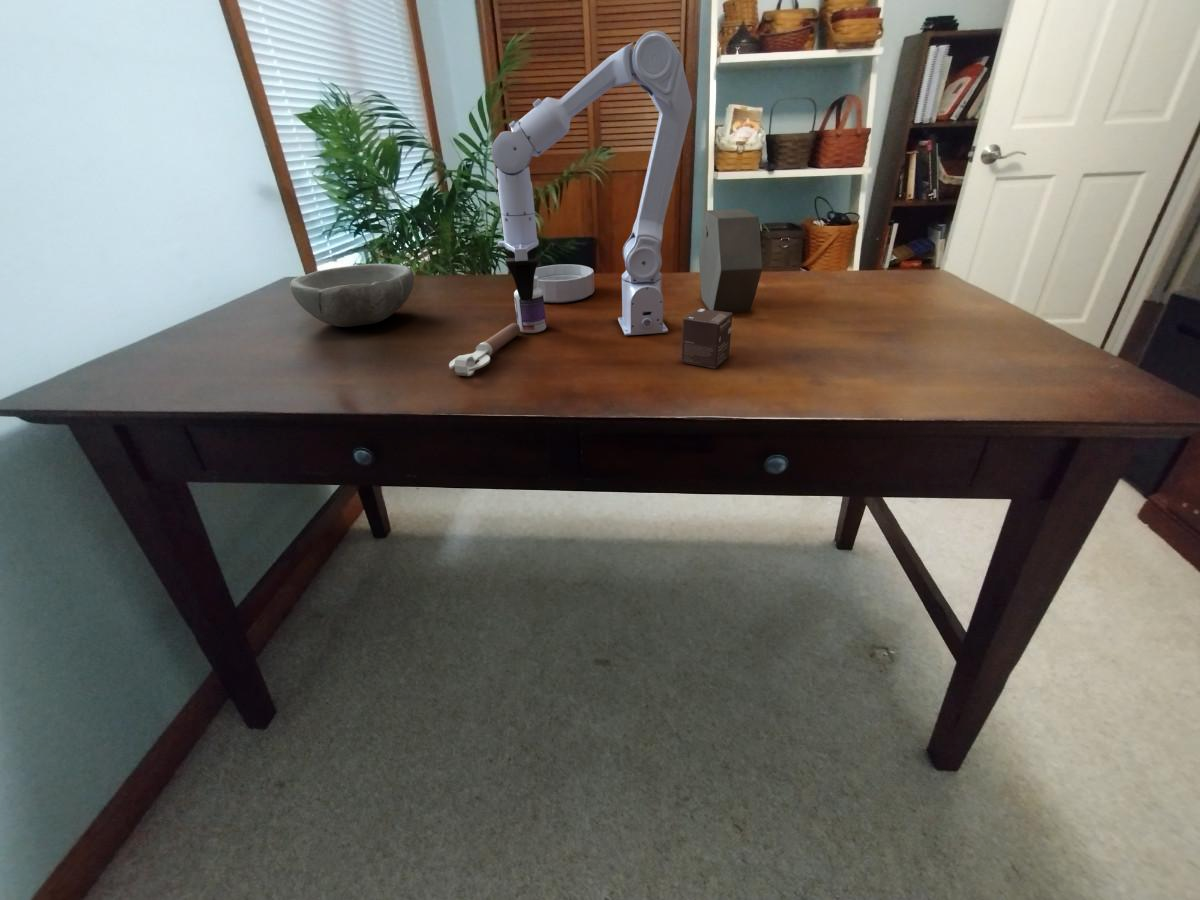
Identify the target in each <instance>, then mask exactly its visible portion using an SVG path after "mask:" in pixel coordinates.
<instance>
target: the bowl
mask: <svg viewBox="0 0 1200 900" xmlns="http://www.w3.org/2000/svg"><path fill="white" fill-rule="evenodd" d="M414 279H415V278H414V272H413V270H412V268H410V267H409V266H406V265H404V264H403V265H402V264H395V263H368V264H367V263H366V264H365V263H363V264H354V265H348V266H339V267H331V268H326V269H322V270H316V271H313V272H310V273H308V274H304V275H300V276H297V277H295V278H293V279H292V280H291V281H290V285H289V287H290V291H291V294H292V296H293V298H294V299H295V301H296V303H297V304H298V305H300V307H301V308H302V309H303V310H305V312H307V313H308V314H310V315H311V316H312V317H314V318H315V319H317V320H318V321H320V322H322V323H324V324H328V325H330V326H334V327H340V328H349V327H361V326H366V325H373V324H376V323H379V322H382V321H384V320H386V319H388V318H389V317H391V316H392V315H394V314H395V313H396V312H397V311H398V310H399V309H400V308H401V307H403V305H404V304H405V303H406V302H407V301H408V299H409V297H410V296H411V294H412V292H413V291H412V290H413V287H414Z"/></svg>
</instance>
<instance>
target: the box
mask: <svg viewBox="0 0 1200 900" xmlns="http://www.w3.org/2000/svg"><path fill="white" fill-rule="evenodd" d="M733 313H734V312H732V313H730V312H722V311H714V310H709V309H706V308H697V309H696V310H694V311H692V312H690V313H688V315H686V316H685V317H683V318H682V333H681V357H680V363H683V364H687V365H694V366H700V367H705V368H708V369H717V368H718V367H719V366H721V365H722V364H723V363H724V362H726V360H727V359H728V358H729V357H730V349H731V337H732V323H733Z"/></svg>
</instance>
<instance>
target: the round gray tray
mask: <svg viewBox="0 0 1200 900" xmlns="http://www.w3.org/2000/svg"><path fill="white" fill-rule="evenodd" d="M594 271H595V270H594V269H593V268H591V267H589V266H587V265H582V264H572V263H571V264H569V263H568V264H565V263H564V264H551V265H545V266H539V267H537V268H536V271H535V276H538V282H539V283H538V286H537V287H539V288H540V289H542V291H543V297H544V303H547V304H565V303H572V302H578V301H580V300H584V299H585V298H588V297H589V296H591V295H593V294H594V293H595V272H594Z"/></svg>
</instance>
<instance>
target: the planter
mask: <svg viewBox="0 0 1200 900" xmlns="http://www.w3.org/2000/svg"><path fill="white" fill-rule="evenodd" d="M703 218H704V219H703V224H702V231H701V238H700V243H699V250H698V265H699V266H698V267H699V280H700V282H699V283H700V295H701V300H702V302H703V303H704V305H705V306H706V307H707V310H714V311H722V312H730V313H747V312H748V313H750V312H751V311H752V309H753V306H754V301H755V299H756V294H757V291H758V287H759V283H760V279H761V276H762V272H763V256H762V243H761V242H762V241H761V227H760V216H759V215H757V214H755V213H753V212H751V211H748V210H747V209H746V208H731V209H730V208H729V209H727V208H726V209H713V210H712V209H707V210H705V211H704V217H703Z"/></svg>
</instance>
